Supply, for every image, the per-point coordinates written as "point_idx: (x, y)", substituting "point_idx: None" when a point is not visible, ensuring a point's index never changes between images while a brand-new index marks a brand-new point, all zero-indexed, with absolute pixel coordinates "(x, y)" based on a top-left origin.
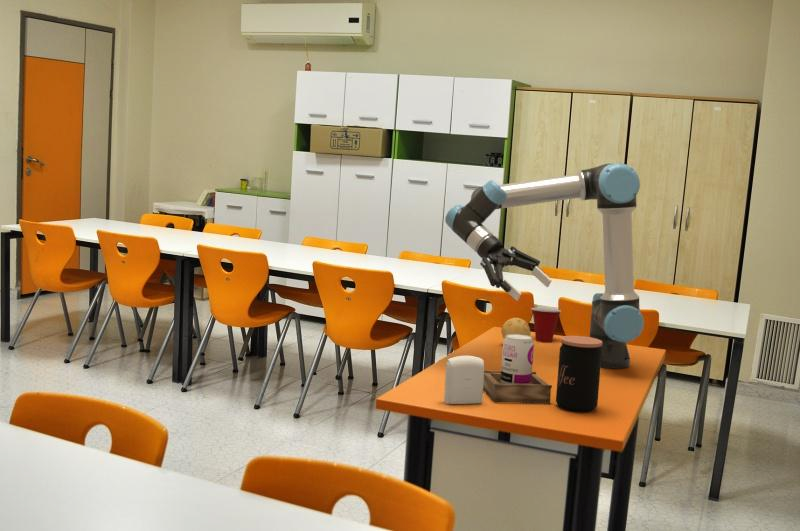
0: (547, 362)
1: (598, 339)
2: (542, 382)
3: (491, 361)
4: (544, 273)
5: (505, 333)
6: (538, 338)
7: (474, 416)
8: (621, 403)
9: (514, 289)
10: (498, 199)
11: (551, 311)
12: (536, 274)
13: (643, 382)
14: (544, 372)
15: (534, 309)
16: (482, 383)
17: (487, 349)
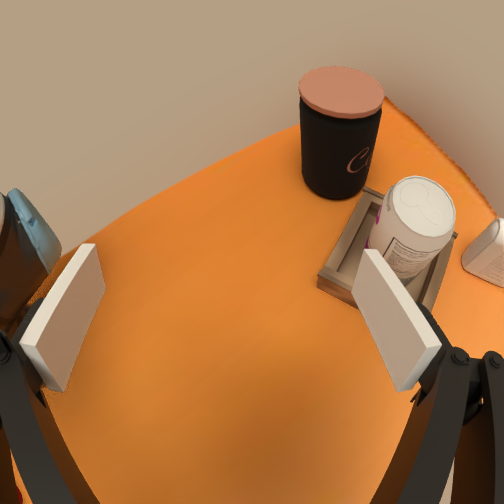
0: (106, 423)
1: (301, 79)
2: (359, 214)
3: (207, 500)
4: (57, 281)
5: None
6: (19, 499)
7: (493, 211)
8: (245, 165)
9: (395, 277)
10: None
11: None
12: (68, 346)
13: (99, 234)
14: (178, 375)
15: None
16: (481, 234)
17: None
